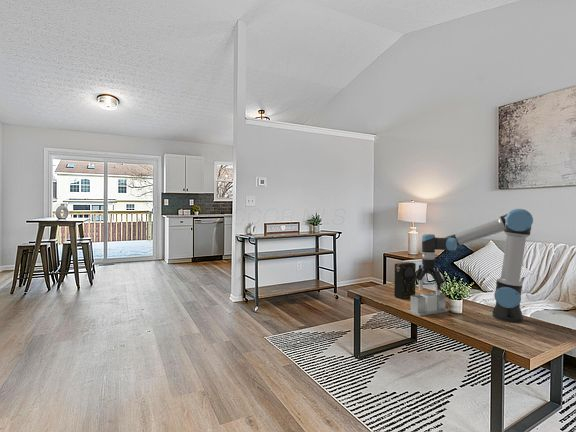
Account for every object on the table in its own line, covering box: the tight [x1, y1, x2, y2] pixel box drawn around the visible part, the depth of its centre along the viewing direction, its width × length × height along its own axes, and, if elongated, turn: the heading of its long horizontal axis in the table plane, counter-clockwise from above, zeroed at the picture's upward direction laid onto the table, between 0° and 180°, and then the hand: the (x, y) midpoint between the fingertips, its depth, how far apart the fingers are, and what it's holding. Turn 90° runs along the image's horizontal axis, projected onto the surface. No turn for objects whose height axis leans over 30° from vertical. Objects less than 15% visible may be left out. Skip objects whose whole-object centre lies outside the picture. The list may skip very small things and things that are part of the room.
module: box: [420, 293, 437, 312], centre depth 202 cm, size 8×6×9 cm
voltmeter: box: [393, 261, 417, 300], centre depth 236 cm, size 16×9×25 cm, turn 120°
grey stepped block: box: [407, 291, 449, 317], centre depth 202 cm, size 24×10×11 cm, turn 113°
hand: (429, 292), depth 202 cm, fingers open, 13 cm apart
